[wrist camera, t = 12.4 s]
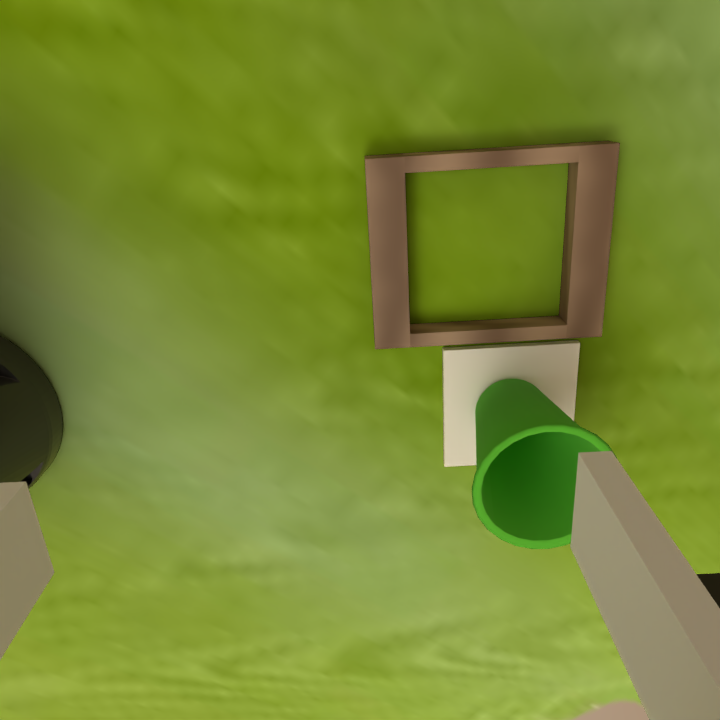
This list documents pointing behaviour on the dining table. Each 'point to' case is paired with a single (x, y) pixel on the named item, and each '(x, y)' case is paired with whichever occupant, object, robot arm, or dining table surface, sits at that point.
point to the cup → (527, 465)
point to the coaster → (494, 363)
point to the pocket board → (580, 250)
